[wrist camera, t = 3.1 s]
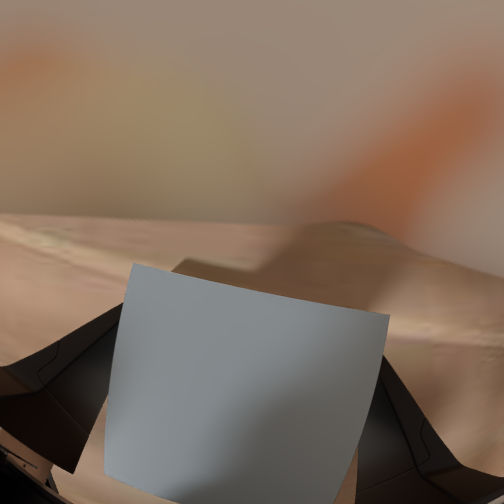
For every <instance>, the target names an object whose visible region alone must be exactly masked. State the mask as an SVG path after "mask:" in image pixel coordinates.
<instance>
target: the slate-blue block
mask: <svg viewBox="0 0 504 504" xmlns="http://www.w3.org/2000/svg"><path fill="white" fill-rule="evenodd" d="M389 318H390V315H387V314H381V313H374V312H368V311H362V310H356V309H350V308H344V307H338V306H333V305H327V304H321V303H316V302H310V301H305V300H300V299H294V298H289V297H284V296H279V295H274V294H269V293H264V292H259V291H254V290H249V289H245V288H240V287H235V286H230V285H226V284H221V283H217V282H212V281H208V280H203V279H199V278H194V277H190V276H186V275H181V274H177V273H173V272H169V271H165V270H160V269H156V268H152V267H148V266H144V265H140V264H136V263H133V266H132V269H131V273H130V277H129V281H128V285H127V290H126V294H125V298H124V303H123V307H122V312H121V317H120V322H119V327H118V332H117V338H116V343H115V349H114V356H113V362H112V369H111V376H110V384H109V393H108V402H107V413H106V427H105V446H104V474H105V475H108V476H110V477H112V478H114V479H116V480H118V481H120V482H123V483H125V484H127V485H130V486H132V487H134V488H137V489H139V490H142V491H144V492H147V493H150V494H153V495H155V496H158V497H161V498H164V499H167V500H170V501H173V502H177V503H180V504H333V503H334V500H335V498H336V496H337V494H338V492H339V490H340V488H341V485H342V483H343V481H344V478H345V476H346V474H347V471H348V469H349V466H350V464H351V461H352V459H353V456H354V453H355V451H356V448H357V445H358V442H359V440H360V437H361V434H362V431H363V428H364V425H365V421H366V418H367V415H368V412H369V408H370V405H371V401H372V398H373V394H374V390H375V386H376V382H377V378H378V374H379V370H380V365H381V361H382V356H383V351H384V346H385V341H386V336H387V330H388V324H389Z"/></svg>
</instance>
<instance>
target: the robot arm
mask: <svg viewBox="0 0 504 504" xmlns="http://www.w3.org/2000/svg"><path fill="white" fill-rule="evenodd" d="M123 303H124V302H123ZM123 303H121V304H119V305H118V306H116V307H114V308H112V309H111V310H109V311H107V312H105V313H104V314H102V315H100V316H99V317H97V318H95V319H93V320H92V321H90V322H88V323H87V324H85V325H83V326H81V327H80V328H78V329H76V330H75V331H73V332H71V333H70V334H68V335H66V336H65V337H63V338H61V339H60V340H58V341H56V342H54V343H53V344H51V345H49V346H47V347H46V348H44V349H42V350H40V351H38V352H36V353H34V354H32V355H30V356H28V357H26V358H24V359H21V360H19V361H17V362H15V363H13V364H11V365H7V366H1V367H0V504H73V503H72V502H70V501H68V500H67V499H65V498H64V497H62V496H60V495H59V494H58V493H59V492H58V490H57V487H56V485H55V482H54V480H53V477H52V474H51V469H52V467H53V465H54V464H55V465H57V466H58V467H60V468H62V469H64V470H65V471H67V472H69V473H71V474H73V473H74V471H75V469H76V466H77V464H78V461H79V459H80V456H81V454H82V452H83V449H84V447H85V444H86V442H87V440H88V437H89V435H90V433H91V430H92V428H93V426H94V423H95V421H96V419H97V417H98V415H99V412H100V410H101V408H102V406H103V404H104V402H105V400H106V397H107V395H108V393H109V384H110V376H111V369H112V362H113V356H114V349H115V343H116V338H117V332H118V327H119V322H120V317H121V312H122V307H123ZM355 504H504V477H497V476H493V475H490V474H487V473H484V472H481V471H477V470H474V469H471V468H469V467H466V466H464V465H462V464H461V463H460V462H459V461H458V460H457V459H456V458H455V457H454V455H453V454H452V453H451V451H450V450H449V449H448V448H447V446H446V445H445V444H444V442H443V441H442V440H441V438H440V437H439V436H438V434H437V433H436V432H435V430H434V429H433V427H432V426H431V424H430V423H429V421H428V420H427V418H426V417H425V415H424V414H423V412H422V411H421V409H420V408H419V406H418V405H417V403H416V401H415V400H414V398H413V397H412V396H411V394H410V393H409V391H408V390H407V388H406V387H405V385H404V384H403V382H402V381H401V379H400V378H399V376H398V375H397V373H396V372H395V371H394V369H393V368H392V366H391V365H390V363H389V362H388V361H387V359H386V358H385V356H384V355H383V356H382V361H381V365H380V370H379V374H378V378H377V382H376V386H375V390H374V394H373V398H372V401H371V405H370V408H369V412H368V415H367V418H366V421H365V425H364V428H363V431H362V434H361V437H360V440H359V442H358V468H357V485H356V496H355Z"/></svg>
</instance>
